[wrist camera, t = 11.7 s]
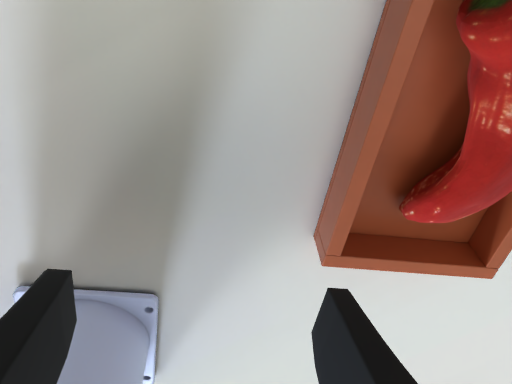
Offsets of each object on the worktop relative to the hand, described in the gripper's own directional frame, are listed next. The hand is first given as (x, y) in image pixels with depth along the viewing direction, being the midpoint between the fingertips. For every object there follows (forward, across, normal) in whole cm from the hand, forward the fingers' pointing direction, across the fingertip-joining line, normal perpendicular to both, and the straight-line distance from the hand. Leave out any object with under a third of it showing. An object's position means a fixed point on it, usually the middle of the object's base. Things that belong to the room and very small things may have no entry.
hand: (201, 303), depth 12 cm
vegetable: (+9, -11, -4) cm, 15 cm away
